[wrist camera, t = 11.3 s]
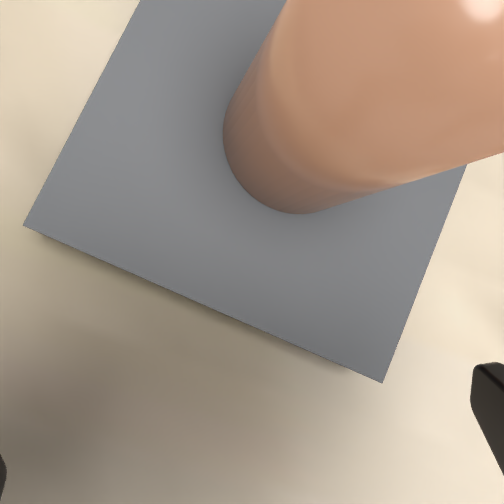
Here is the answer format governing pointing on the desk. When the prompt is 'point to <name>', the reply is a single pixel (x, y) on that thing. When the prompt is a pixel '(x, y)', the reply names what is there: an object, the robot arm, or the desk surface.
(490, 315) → the desk surface
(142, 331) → the desk surface
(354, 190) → the terracotta cylinder
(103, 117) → the base block
